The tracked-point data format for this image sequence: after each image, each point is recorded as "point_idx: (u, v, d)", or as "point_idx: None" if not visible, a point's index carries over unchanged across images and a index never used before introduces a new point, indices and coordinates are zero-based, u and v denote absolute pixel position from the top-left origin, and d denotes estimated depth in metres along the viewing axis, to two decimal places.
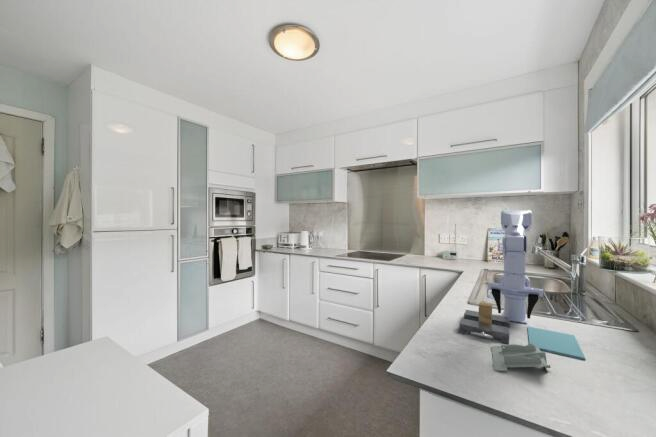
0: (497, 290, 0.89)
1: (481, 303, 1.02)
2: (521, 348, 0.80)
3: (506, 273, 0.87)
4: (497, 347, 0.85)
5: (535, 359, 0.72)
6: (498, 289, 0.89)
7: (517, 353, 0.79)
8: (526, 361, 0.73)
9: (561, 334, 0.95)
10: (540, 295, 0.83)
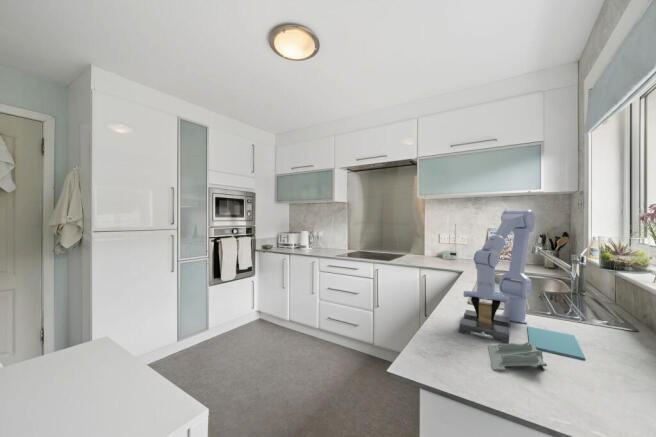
0: (471, 297, 1.03)
1: (481, 303, 1.02)
2: (517, 347, 0.81)
3: (478, 283, 1.01)
4: (494, 346, 0.86)
5: (532, 358, 0.73)
6: (472, 296, 1.03)
7: (514, 352, 0.80)
8: (523, 360, 0.74)
9: (561, 334, 0.95)
10: (506, 302, 0.97)
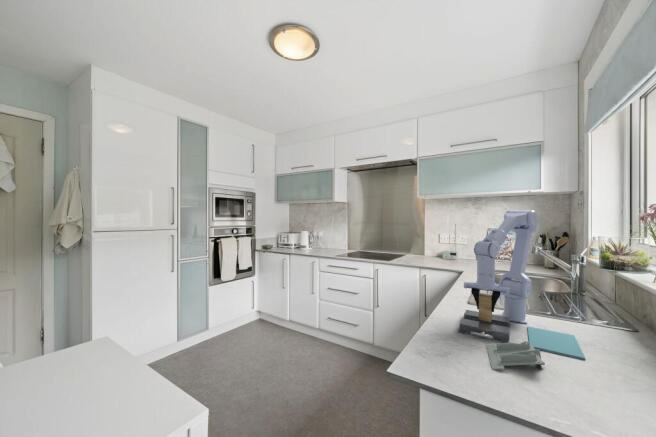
0: (471, 288, 1.03)
1: (481, 294, 1.02)
2: (516, 346, 0.81)
3: (479, 274, 1.00)
4: (492, 345, 0.86)
5: (531, 357, 0.74)
6: (472, 288, 1.03)
7: (512, 351, 0.80)
8: (522, 359, 0.74)
9: (561, 334, 0.95)
10: (507, 293, 0.96)
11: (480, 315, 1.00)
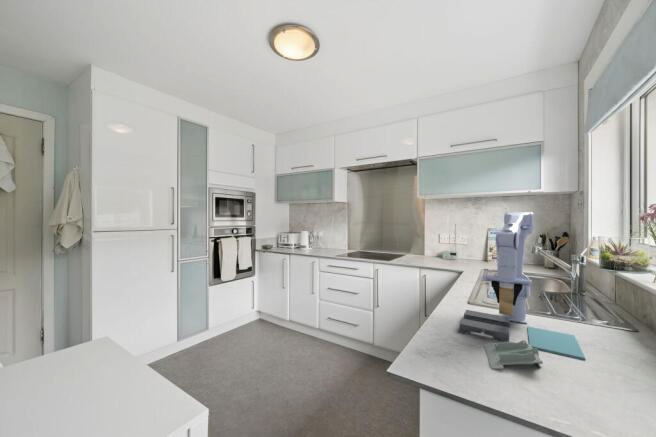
0: (491, 281, 0.99)
1: (502, 287, 0.98)
2: (514, 345, 0.82)
3: (499, 266, 0.97)
4: (490, 345, 0.87)
5: (529, 356, 0.74)
6: (492, 280, 0.99)
7: (510, 350, 0.81)
8: (521, 358, 0.75)
9: (561, 334, 0.95)
10: (529, 285, 0.93)
11: (500, 309, 0.97)
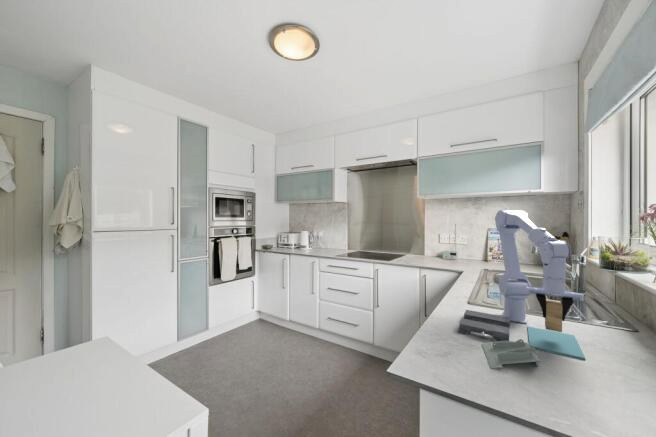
0: (536, 294, 0.92)
1: (548, 301, 0.91)
2: (511, 344, 0.82)
3: (546, 278, 0.89)
4: (487, 344, 0.87)
5: (527, 355, 0.75)
6: (537, 293, 0.92)
7: (508, 349, 0.82)
8: (519, 357, 0.76)
9: (561, 334, 0.95)
10: (581, 299, 0.85)
11: (548, 324, 0.89)
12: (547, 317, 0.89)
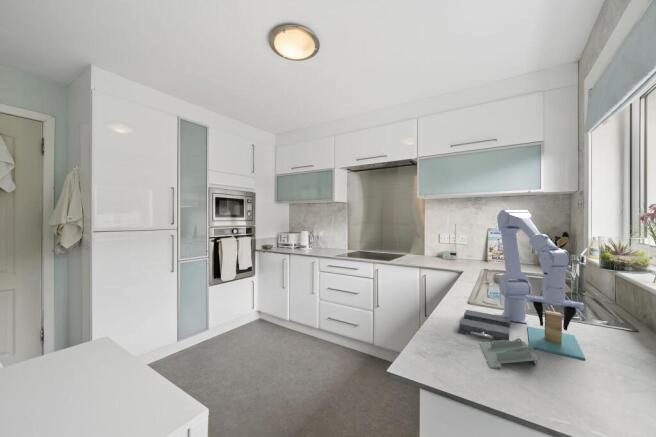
0: (536, 303, 0.92)
1: (548, 312, 0.91)
2: (509, 343, 0.83)
3: (546, 287, 0.90)
4: (485, 343, 0.88)
5: (526, 353, 0.75)
6: (537, 302, 0.92)
7: (506, 348, 0.82)
8: (518, 356, 0.76)
9: None
10: (581, 309, 0.85)
11: (547, 336, 0.89)
12: (547, 329, 0.89)
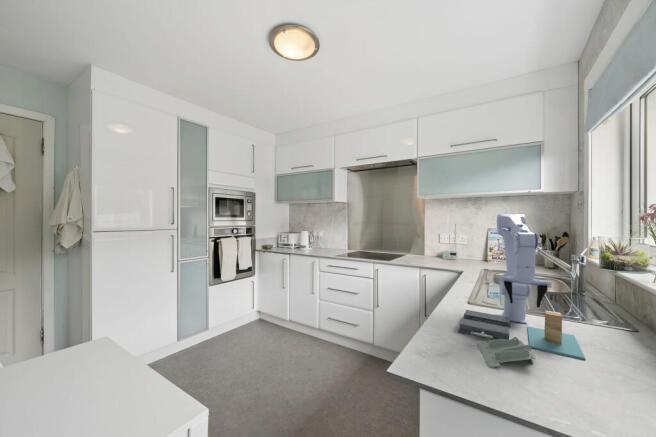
0: (509, 282, 0.98)
1: (548, 312, 0.91)
2: (506, 342, 0.84)
3: (518, 266, 0.96)
4: (483, 343, 0.88)
5: (524, 352, 0.76)
6: (510, 281, 0.98)
7: (503, 347, 0.83)
8: (515, 355, 0.77)
9: None
10: (549, 286, 0.92)
11: (547, 336, 0.89)
12: (547, 329, 0.89)
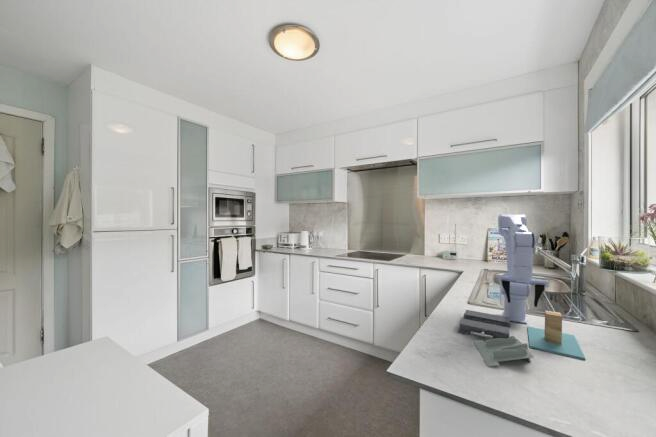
0: (507, 282, 0.99)
1: (548, 312, 0.91)
2: (503, 341, 0.84)
3: (515, 266, 0.96)
4: (480, 342, 0.89)
5: (521, 351, 0.77)
6: (508, 281, 0.99)
7: (501, 346, 0.83)
8: (514, 354, 0.77)
9: None
10: (546, 285, 0.92)
11: (547, 336, 0.89)
12: (547, 329, 0.89)
